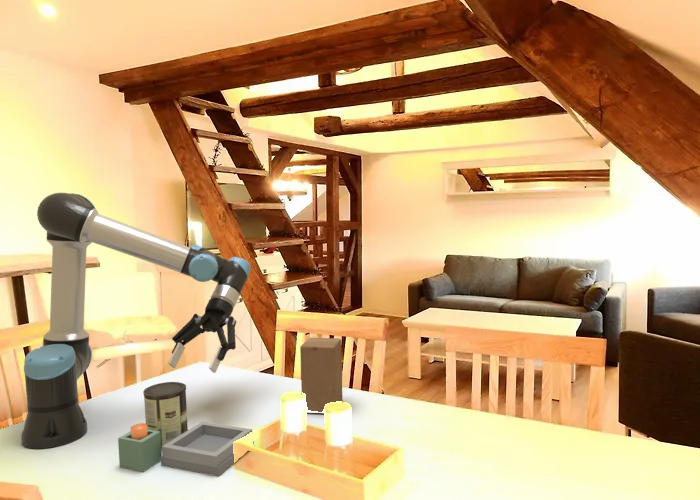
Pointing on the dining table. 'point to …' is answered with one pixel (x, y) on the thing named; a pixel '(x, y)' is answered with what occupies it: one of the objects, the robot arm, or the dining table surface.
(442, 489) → the dining table surface
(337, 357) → the wooden block
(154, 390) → the coffee can
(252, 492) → the dining table surface
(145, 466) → the green egg cup
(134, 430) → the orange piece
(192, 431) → the tray
